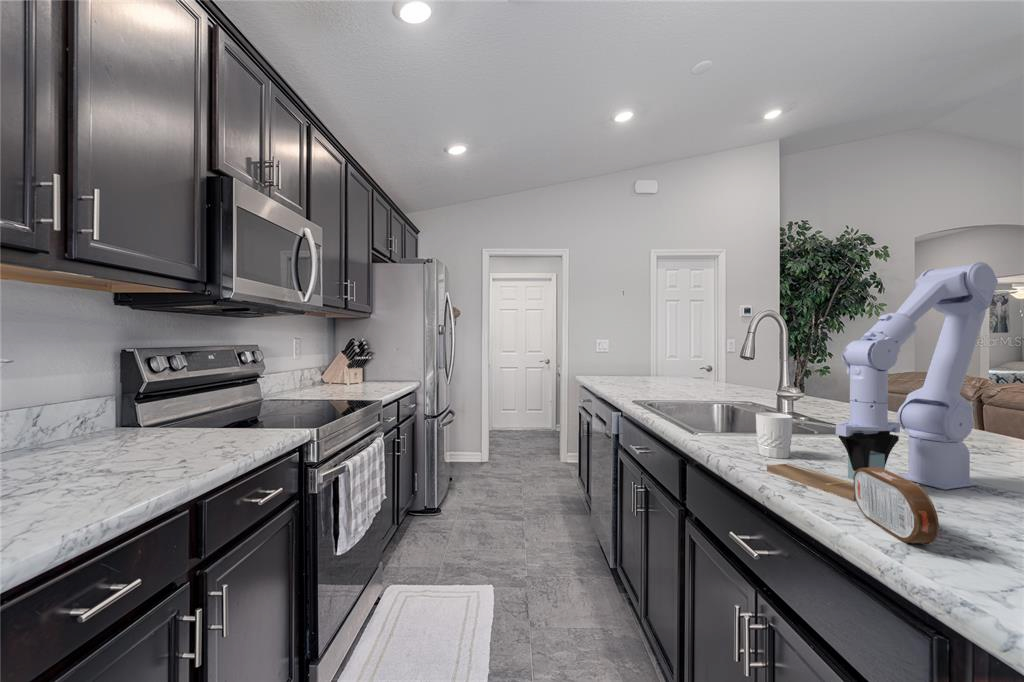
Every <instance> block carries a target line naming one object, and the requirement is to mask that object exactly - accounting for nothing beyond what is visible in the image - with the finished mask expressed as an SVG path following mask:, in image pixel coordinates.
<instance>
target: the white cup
mask: <svg viewBox="0 0 1024 682" xmlns="http://www.w3.org/2000/svg"><path fill="white" fill-rule="evenodd" d="M793 419H794V417H793V416H792V415H790V414H788V413H787V414H786V413H780V412H779V413H778V412H756V413H755V429H756V430H755V431H756V441H757V453H758V455H761V456H763V457H767V458H771V457H772V458H771V459H782V458H784V459H788V458H790V457H791V445H792V437H793V421H794V420H793Z"/></svg>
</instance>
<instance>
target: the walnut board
mask: <svg viewBox="0 0 1024 682" xmlns="http://www.w3.org/2000/svg"><path fill="white" fill-rule="evenodd" d="M766 471H767V472H768V471H769V473H771V472H772V474H774V473H776V474H775V475H777V474H779V475H778V476H780V475H782V476H781V477H783V476H785V477H784V478H786V477H788V478H787V479H789V478H790V479H789V480H792V479H793V480H792V481H794V480H796V481H795V482H797V481H798V482H797V483H801V484H803V485H807V486H810V487H812V486H813V488H815V487H816V488H815V489H818V488H819V489H818V490H821V489H822V490H821V491H824V490H825V491H824V492H827V491H828V492H827V493H830V492H831V493H830V494H832V493H834V494H833V495H835V494H837V495H836V496H838V495H839V497H841V496H842V497H841V498H844V497H845V499H847V498H848V500H851V501H853V502H856V500H855V494H854V482H850V481H847V480H844V479H840V478H838V477H834V476H831V475H828V474H824V473H820V472H818V471H815V470H811V469H808V468H804V467H801V466H799V465H796V464H795V465H794V464H792V463H791V464H790V463H780V464H778V463H777V464H769V465H766Z"/></svg>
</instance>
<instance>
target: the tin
mask: <svg viewBox="0 0 1024 682" xmlns="http://www.w3.org/2000/svg"><path fill="white" fill-rule="evenodd" d="M898 475H899V474H896V473H894V472H891V471H889V470H888V469H883V468H881V467H874V468H860V469H858V470H856V472H855V473H854V476H853V479H854V480H853V479H852V480H853V483H854V494H855V500H856V501H855V502H856V505H857V506H858V507H857V508H858V509H859V510H860V512H861V513H862V514H863V516H864V517H865V519H868V520H869V521H870V522H871V523H874V525H876V526H878V527H879V528H880V529H883V531H885V532H886V533H889V534H890V535H891V536H893V537H894V538H896V539H897V540H899V541H900V540H901V541H900V542H902V543H907V544H921V545H930V544H932V543H934V542H935V541H936V540H937V538H938V537H939V531H940V523H939V518H938V512H937V510H936V507H935V505H934V504H933V501H932V499H931V498H930V496H929V495H928V494H927V492H926V491H925V490H924V489H923V488H922V487H921V486H920V485H919V484H917V483H916V482H914V481H910V480H907V479H905V478H903V477H900V476H898Z"/></svg>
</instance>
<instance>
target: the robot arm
mask: <svg viewBox="0 0 1024 682" xmlns="http://www.w3.org/2000/svg"><path fill="white" fill-rule="evenodd" d="M998 280H999V279H998V278H997V276H996V273H995V271H994V270H993V268H992V267H991V266H990V265H989V264H988V263H986V262H982V261H978V262H974V263H969V264H963V265H955V266H949V267H943V268H936V269H935V268H934V269H933V268H932V269H926V270H924V271H923V272H922V273H921V274H920V275H919V277H918V278H916V279H915V282H914V287H915V288H914V289H913V291H912V292H911V293H910V294H909V296H908V297H907V298H906V299H905V300H904V302H903V303H902V304H901V305H900V307H899V308H898V309H897V310H896V312H891V313H889V312H888V313H886V314H881V315H880V316H879V318H878V321H877V322H876V323H875V324H874V325H873V326H872V327H871V328H869V330H868V331H867V332H865V333H864V334H863V335H862V337H861V338H860V339H859V340H858V339H857V340H853V341H851V342H849V343H848V344H847V345H846V346H845V348H844V350H843V353H841V360H842V362H843V364H844V365H845V366H846V374H847V376H848V377H849V419H845V420H844V422H843V423H841V424H840V423H839V424H835V435H837V436H838V439H839V440H840V441H841V443H842V445H843V447H844V448H845V450H846V453H847V456H848V455H849V458H850V462H851V465H852V469H853V471H856V470H858V469H860V468H868V463H869V455H870V452H871V451H874V452H878V453H882V454H885V466H886V465H887V461H888V458H889V456H890V454H891V452H892V450H893V448H894V447H895V445H896V444H897V443H898V442H899V440H900V439H899V438H900V437H899V435H896V433H898V434H899V433H901V429H903V430H904V435H907V436H908V460H907V461H908V473H904V474H903V473H902V474H897V475H898V476H900V477H903V478H905V479H907V480H909V481H911V482H914V483H916V484H917V483H918V484H922V485H925V486H929V487H933V488H937V489H940V490H951V489H959V488H966V487H972V486H977V483H976V482H973V481H970V478H971V477H970V476H971V475H970V473H971V472H970V471H971V470H970V469H971V465H970V464H971V462H970V461H971V460H970V458H971V454H970V450H969V448H968V446H967V445H966V444H965V443H964V439H966V438H968V437H969V436H970V434H971V433H972V430H973V426H974V424H973V412H974V410H975V407H974V405H972V404H971V403H970V402H969V401H968V400H967V399H966V398H965V397H963V395H961V392H962V388H963V384H964V383H965V382H964V381H965V379H966V376H967V373H968V369H969V366H970V363H971V360H972V357H973V353H974V351H975V348H976V344H977V342H978V339H979V335H980V332H981V330H982V326H983V322H984V319H985V317H986V313H987V311H986V310H987V309H989V308H990V307H991V304H992V302H993V298H994V294H995V292H996V289H997V285H998V282H999V281H998ZM933 308H934V310H935V311H936V312H938V313H942V314H943V315H944V317H945V319H944V322H943V325H942V328H941V330H940V331H941V332H940V334H939V338H938V340H937V343H936V346H935V350H934V352H933V355H932V358H931V362H930V365H929V367H928V370H927V374H926V376H925V380H924V382H923V383H924V384H923V386H922V387H920V388H918V389H916V390H913V391H911V392H909V393H908V394H907V395H906V399H905V400H904V402H903V403H902V404H901V405H900V407H899V408H898V410H897V412H896V413H897V414H896V419H897V422H896V421H891V420H888V419H889V415H888V413H889V411H888V409H889V407H888V406H889V405H888V404H889V403H888V402H889V401H888V400H889V395H888V394H889V391H888V390H889V385H888V384H889V372H888V371H889V369H891V368H893V367H894V366H895V365H896V363H897V360H898V354H899V353H900V352H901V351H900V350H901V347H902V346H903V345H904V344H905V343H906V342H908V340H909V339H910V338H911V337H912V335H914V334H915V333H916V331H917V326H916V322H917V321H918V320H919V319H921V318H922V317H923V316H924V315H925V314H927V312H929V311H930V310H931V309H933ZM892 433H895V434H892Z"/></svg>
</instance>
